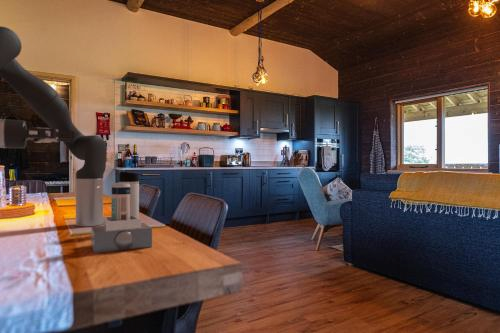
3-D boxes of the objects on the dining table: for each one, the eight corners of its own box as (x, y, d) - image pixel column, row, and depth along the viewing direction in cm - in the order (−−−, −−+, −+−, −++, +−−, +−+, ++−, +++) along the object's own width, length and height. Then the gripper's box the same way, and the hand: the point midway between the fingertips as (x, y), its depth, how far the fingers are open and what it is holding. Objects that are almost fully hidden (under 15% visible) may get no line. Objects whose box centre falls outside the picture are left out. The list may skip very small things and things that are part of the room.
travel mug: (113, 233, 108) (114, 171, 108) (126, 229, 114) (127, 171, 114) (130, 234, 106) (130, 171, 106) (142, 230, 112) (142, 171, 112)
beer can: (133, 226, 92) (133, 182, 92) (124, 229, 87) (125, 183, 87) (116, 225, 93) (117, 182, 93) (107, 228, 88) (108, 183, 88)
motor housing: (91, 245, 91) (91, 217, 91) (143, 239, 98) (144, 214, 98) (94, 254, 81) (94, 223, 81) (152, 247, 88) (152, 219, 88)
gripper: (-1, 115, 81) (75, 120, 89) (8, 122, 93) (73, 126, 101) (-1, 146, 81) (74, 148, 89) (7, 149, 93) (73, 151, 101)
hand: (74, 136), depth 95 cm, fingers open, 8 cm apart
